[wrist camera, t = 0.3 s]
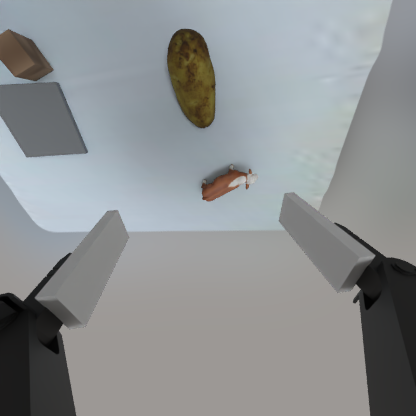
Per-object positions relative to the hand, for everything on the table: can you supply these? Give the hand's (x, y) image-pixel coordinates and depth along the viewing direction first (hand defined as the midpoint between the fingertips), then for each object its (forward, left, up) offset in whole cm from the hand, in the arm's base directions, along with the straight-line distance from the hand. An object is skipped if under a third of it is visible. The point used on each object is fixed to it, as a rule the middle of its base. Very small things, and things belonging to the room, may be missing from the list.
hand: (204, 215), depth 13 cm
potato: (-11, +1, -28) cm, 30 cm away
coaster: (-7, -29, -28) cm, 41 cm away
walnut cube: (-16, -26, -28) cm, 41 cm away
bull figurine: (+7, +7, -28) cm, 30 cm away
